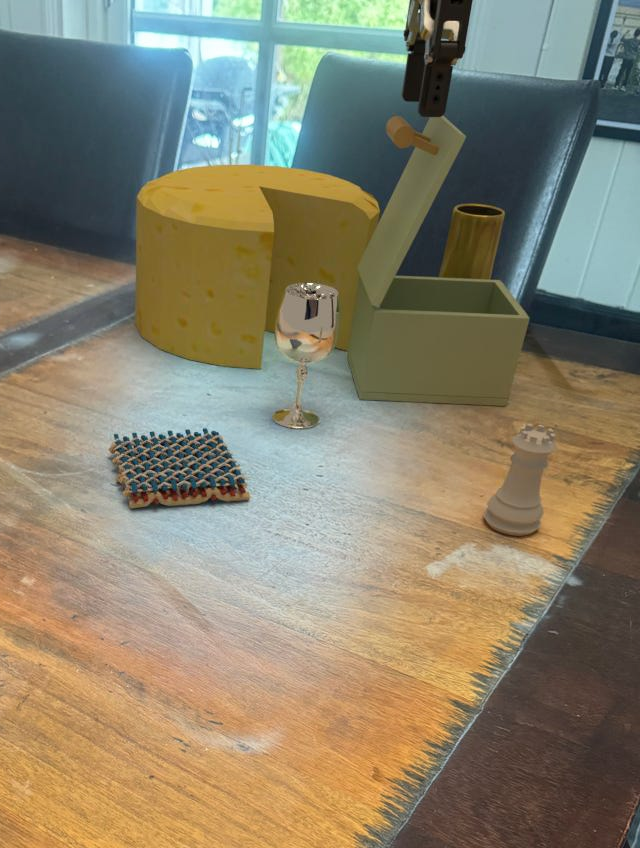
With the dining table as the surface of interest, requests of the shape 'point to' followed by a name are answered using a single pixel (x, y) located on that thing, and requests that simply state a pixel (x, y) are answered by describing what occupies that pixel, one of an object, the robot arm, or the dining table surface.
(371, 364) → the chest
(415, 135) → the lid
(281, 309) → the wineglass
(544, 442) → the rook chess piece
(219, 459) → the woven mat
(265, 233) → the cheese
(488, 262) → the vase
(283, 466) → the dining table surface
